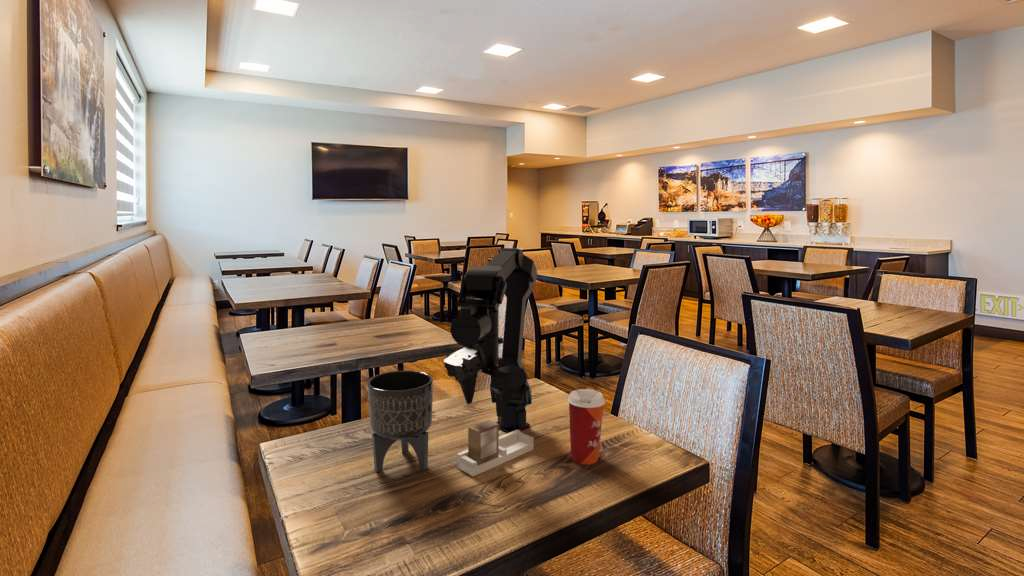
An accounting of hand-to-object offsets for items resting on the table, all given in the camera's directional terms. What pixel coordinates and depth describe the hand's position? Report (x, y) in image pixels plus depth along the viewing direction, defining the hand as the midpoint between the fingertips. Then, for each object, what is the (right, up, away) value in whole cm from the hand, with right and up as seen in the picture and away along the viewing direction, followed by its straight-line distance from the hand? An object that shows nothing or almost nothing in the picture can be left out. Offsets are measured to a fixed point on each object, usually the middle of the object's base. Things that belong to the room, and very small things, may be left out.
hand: (484, 409), depth 108 cm
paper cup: (+21, -12, +5) cm, 24 cm away
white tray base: (+2, -11, +5) cm, 13 cm away
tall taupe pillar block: (0, -10, +2) cm, 10 cm away
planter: (-17, -12, +2) cm, 21 cm away
